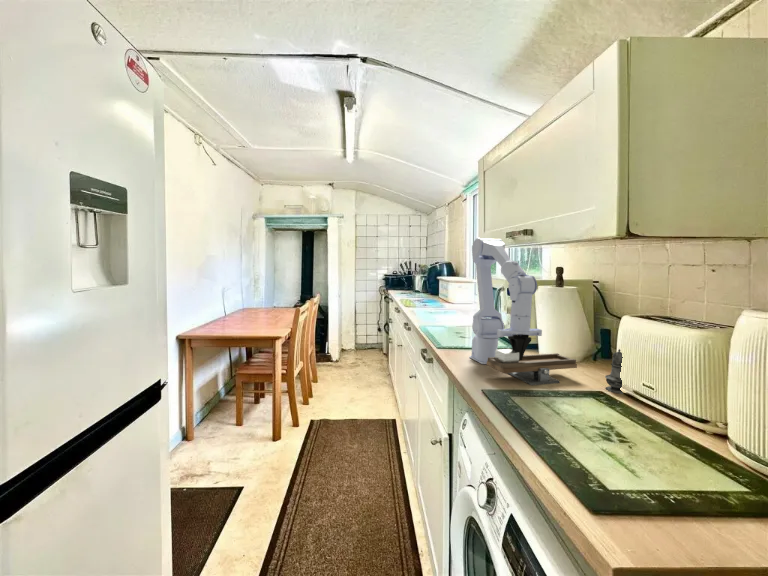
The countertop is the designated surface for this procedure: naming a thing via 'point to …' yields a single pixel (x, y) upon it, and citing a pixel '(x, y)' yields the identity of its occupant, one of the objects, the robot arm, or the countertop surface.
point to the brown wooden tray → (534, 363)
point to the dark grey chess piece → (615, 374)
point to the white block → (506, 356)
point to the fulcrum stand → (536, 377)
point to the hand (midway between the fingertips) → (518, 359)
